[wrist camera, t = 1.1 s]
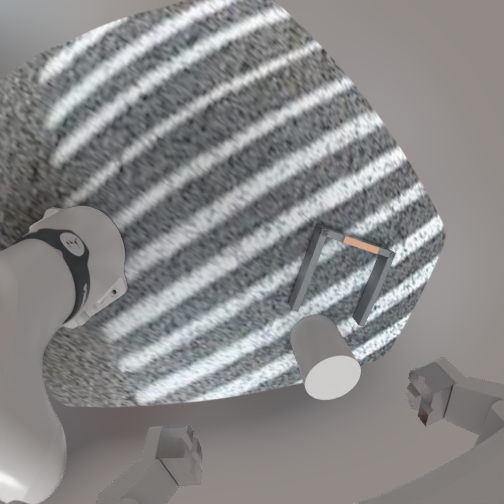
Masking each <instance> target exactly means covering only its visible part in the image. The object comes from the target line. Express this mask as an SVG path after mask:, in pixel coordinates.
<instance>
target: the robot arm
mask: <svg viewBox="0 0 504 504" xmlns="http://www.w3.org/2000/svg"><path fill="white" fill-rule="evenodd" d="M29 229H30V231H29V233H27V234H25V235H24V236H23V237H21V238H20V239H18V240H17V241H16V242H15V243H14V244H13V245H12V246H10V247H8V248H6V249H4V250H2V251H0V500H1V501H3V502H5V503H7V504H38V503H40V502H42V501H43V500H45V499H46V498H48V497H49V496H50V495H51V494H52V493H53V492H54V491H55V490H56V488H57V487H58V485H59V484H60V482H61V480H62V477H63V475H64V472H65V467H66V460H67V448H66V441H65V435H64V431H63V428H62V425H61V422H60V421H59V419H58V417H57V415H56V414H55V412H54V409H53V407H52V405H51V403H50V401H49V398H48V395H47V392H46V389H45V385H44V379H43V371H42V361H43V354H44V351H45V348H46V346H47V344H48V343H49V341H50V340H51V338H52V337H53V335H54V334H55V332H56V331H57V330H58V328H61V327H63V326H65V327H67V328H70V329H74V328H75V327H77V326H78V325H79V326H82V325H83V324H84V323H86V322H87V321H88V319H89V318H90V317H91V316H93V315H94V314H96V313H97V312H99V311H100V310H102V309H103V308H105V307H106V306H107V305H109V304H110V303H112V302H113V301H115V300H116V299H118V298H119V297H121V296H122V295H124V294H125V293H126V292H127V289H128V286H127V281H126V278H125V275H124V264H125V249H124V244H123V240H122V237H121V235H120V233H119V231H118V229H117V227H116V226H115V224H114V223H113V222H112V220H111V219H110V218H109V217H108V216H106V215H105V214H104V213H103V212H101V211H99V210H97V209H95V208H92V207H89V206H75V207H71V208H68V209H61V208H56V207H51V208H49V209H47V210H46V212H45V214H44V216H43V219H41V220H40V221H38V222H36V223H34V224H32V225H31V226H30V228H29ZM113 290H116V292H117V293H115V292H114V291H113ZM408 379H409V380H410V382H411V383H410V384H409V385H408V387H407V399H408V402H409V404H410V406H411V407H412V409H415V410H418V417H419V418H420V420H421V421H422V423H423V424H424V425H425V427H426V426H428V425H430V424H433V423H435V422H437V421H439V420H441V419H443V418H444V420H446V421H448V422H450V423H453V424H455V425H457V426H459V427H462V428H464V429H466V430H468V431H471V432H473V433H475V434H477V435H479V436H478V438H477V440H476V442H475V444H474V448H472V449H470V450H469V451H467V452H466V453H464V454H462V455H461V456H459V457H457V458H455V459H454V460H452V461H450V462H449V463H447V464H445V465H443V466H441V467H439V468H437V469H435V470H433V471H431V472H429V473H427V474H425V475H423V476H421V477H419V478H417V479H415V480H412V481H410V482H408V483H406V484H403V485H401V486H399V487H396V488H394V489H392V490H389V491H387V492H384V493H381V494H379V495H377V496H373V497H371V498H368V499H365V500H362V501H359V502H356V503H353V504H504V385H503V384H499V383H494V382H490V381H485V380H481V379H477V378H473V377H467V378H466V377H465V376H464V375H463V374H462V373H461V372H460V371H459V370H458V369H457V368H456V367H455V366H454V365H452V363H450V362H449V361H448V360H447V359H446V358H445V357H441V358H439V359H437V360H434V361H432V362H430V363H428V364H426V365H423V366H421V367H418V368H416V369H414V370H411V371H410V373H409V378H408ZM193 433H194V431H193V429H192V427H191V426H190V425H180V426H163V427H150V428H149V430H148V433H147V437H146V441H145V445H144V449H143V454H142V458H141V459H138V460H136V462H134V463H133V464H132V465H131V466H130V467H129V468H128V469H127V470H126V471H124V472H123V473H122V474H121V475H120V476H119V477H118V478H117V479H115V480H114V481H113V482H112V483H111V484H110V485H109V486H107V487H106V488H105V489H104V490H103V491H102V492H101V493H99V494H98V497H97V501H96V504H167V503H168V501H169V500H170V499H171V497H172V496H173V494H174V493H175V492H176V491H177V489H178V488H179V486H186V485H199V484H201V476H202V475H201V474H202V470H201V468H200V467H199V464H200V463H201V462H202V450H201V446H200V443H199V441H198V439H197V438H195V437H194V436H193V435H194V434H193Z"/></svg>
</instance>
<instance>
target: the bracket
mask: <svg viewBox="0 0 504 504" xmlns="http://www.w3.org/2000/svg"><path fill="white" fill-rule="evenodd" d="M326 237H329V238H332V239H335V240H338V241H341V242H343V243H346V244H349V245H352V246H355V247H358V248H361V249H364V250H367V251H370V252H373V253H375V254H379V256H378V259H377V261H376V264H375V266H374V268H373V271H372V273H371V276H370V278H369V281H368V283H367V285H366V288H365V290H364V292H363V295H362V297H361V299H360V301H359V304H358V306H357V308H356V310H355V312H354V315H353V318H354V320H355V321H356V322H357V324H358V325H360V326H364V325H365V322H366V320H367V318H368V316H369V314H370V312H371V310H372V308H373V305H374V303H375V301H376V299H377V297H378V294H379V292H380V290H381V287H382V285H383V283H384V281H385V278H386V276H387V273H388V271H389V269H390V266H391V264H392V261H393V259H394V256H395V254H396V253H394V252H393V251H391V250H389V249H388V248H386V247H383V246H380V245H377V244H374V243H372V242H369V241H366V240H363V239H360V238H357V237H354V236H352V235H349V234H346V233H343V232H340V231H337V230H334V229H331V228H328V227H325V226H322V225H319V224H317V225H316V228H315V231H314V234H313V236H312V239H311V242H310V245H309V248H308V250H307V253H306V256H305V259H304V261H303V264H302V267H301V269H300V272H299V275H298V277H297V280H296V283H295V285H294V288H293V291H292V293H291V296H290V298H289V301H288V302H289V305H290V307H291V310H293V311H297V312H298V310H299V308H300V305H301V303H302V300H303V298H304V295H305V293H306V290H307V288H308V285H309V282H310V280H311V277H312V275H313V272H314V269H315V267H316V264H317V262H318V259H319V256H320V254H321V251H322V248H323V245H324V243H325V240H326Z"/></svg>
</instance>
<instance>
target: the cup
mask: <svg viewBox="0 0 504 504" xmlns="http://www.w3.org/2000/svg"><path fill="white" fill-rule="evenodd" d="M290 342H291V346H292V349H293V352H294V355H295V358H296V361H297V364H298V367H299V370H300V373H301V376H302V379H303V382H304V385H305V388H306V391H307V392H308V394H309V395H311V396H312V397H314V398H316V399H320V400H329V399H334V398H337V397H340V396H342V395H344V394H345V393H347V392H349V391H350V390H351V389H352V388H353V387H354V386H355V384H356V383H357V382H358V379H359V377H360V373H361V370H360V365H359V363H358V362H357V360H356V358H355V357H354V355H353V353H352V352H351V350H350V348H349V347H348V345H347V344H346V342H345V340H344V339H343V337H342V335H341V334H340V332H339V331H338V329H337V327H336V326H335V324H334V322H333V321H332V320H331V319H330V318H328V317H327V316H324V315H310V316H307V317H305V318H303V319H301V320H300V321H299V322H298V323H297V324H296V325H295V326H294V327H293V329H292V331H291V334H290Z"/></svg>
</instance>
